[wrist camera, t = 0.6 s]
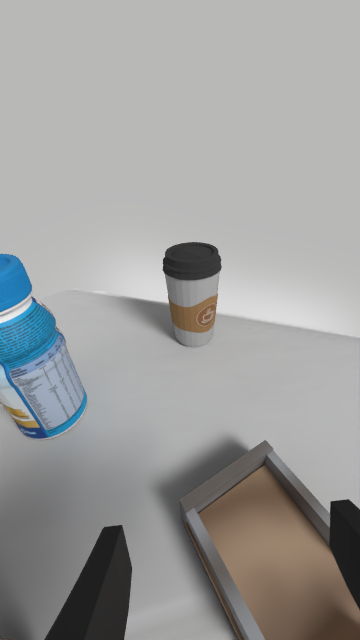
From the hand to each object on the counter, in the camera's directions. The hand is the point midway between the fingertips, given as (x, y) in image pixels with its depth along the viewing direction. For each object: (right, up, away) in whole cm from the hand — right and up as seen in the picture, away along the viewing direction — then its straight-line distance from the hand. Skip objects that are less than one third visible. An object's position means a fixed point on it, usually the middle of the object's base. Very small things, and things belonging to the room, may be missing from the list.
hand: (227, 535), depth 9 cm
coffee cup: (+1, +5, +35) cm, 35 cm away
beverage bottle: (-18, -5, +24) cm, 30 cm away
